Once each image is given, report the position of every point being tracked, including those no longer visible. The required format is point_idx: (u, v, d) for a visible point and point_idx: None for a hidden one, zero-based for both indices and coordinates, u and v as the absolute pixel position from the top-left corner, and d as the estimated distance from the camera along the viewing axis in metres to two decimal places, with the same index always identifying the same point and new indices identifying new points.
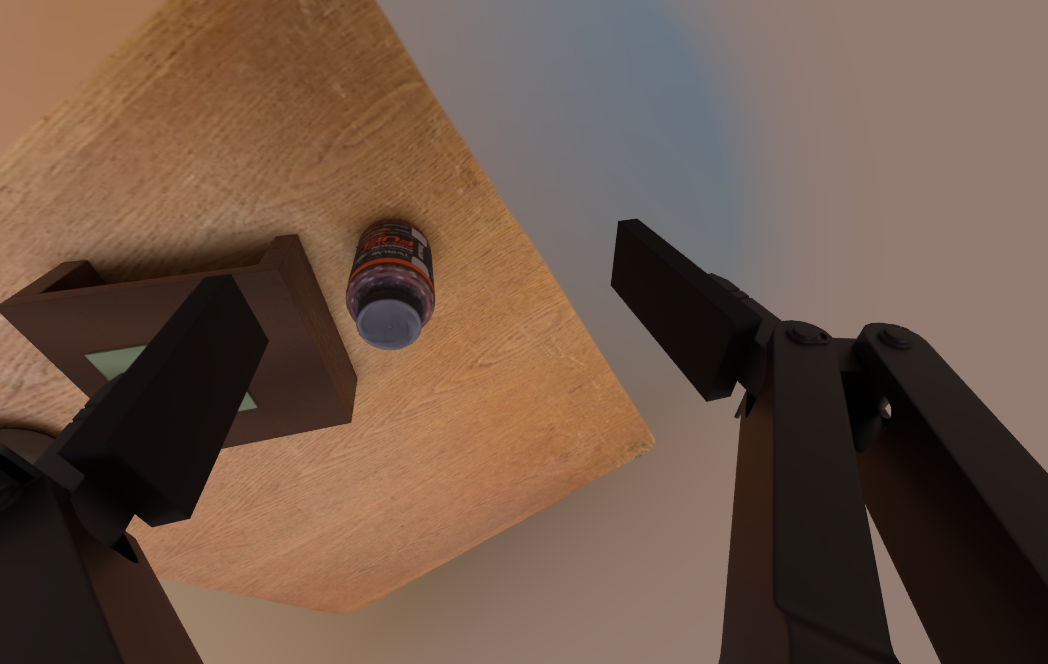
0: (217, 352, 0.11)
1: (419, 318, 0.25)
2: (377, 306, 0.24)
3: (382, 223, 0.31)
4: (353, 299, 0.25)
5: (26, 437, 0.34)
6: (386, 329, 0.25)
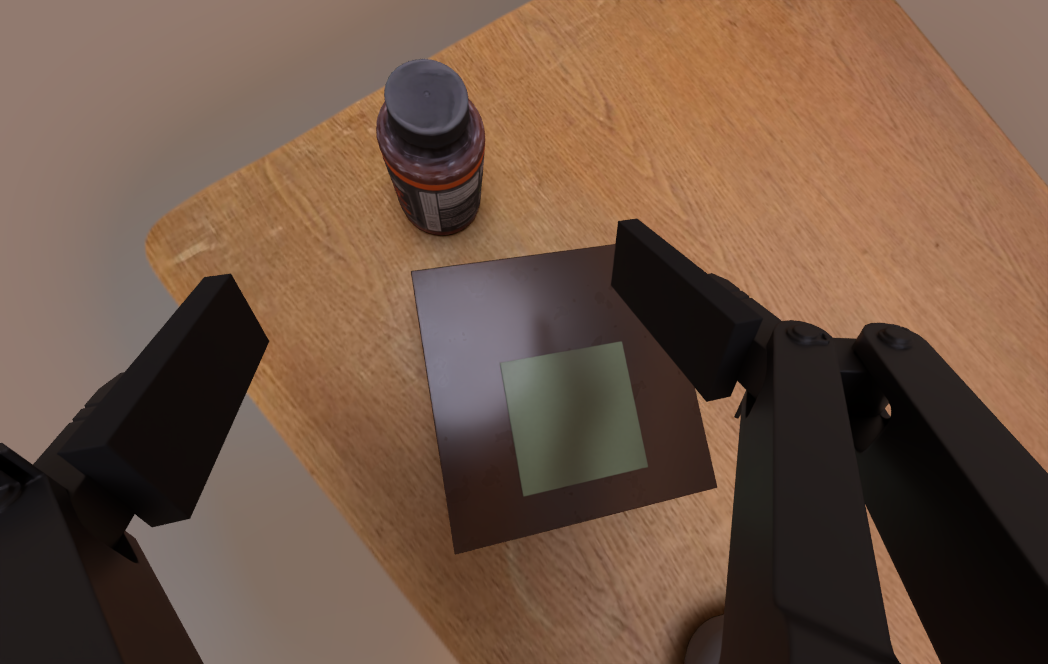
0: (217, 352, 0.11)
1: None
2: (392, 103, 0.18)
3: None
4: (416, 163, 0.20)
5: (694, 642, 0.27)
6: (431, 99, 0.19)
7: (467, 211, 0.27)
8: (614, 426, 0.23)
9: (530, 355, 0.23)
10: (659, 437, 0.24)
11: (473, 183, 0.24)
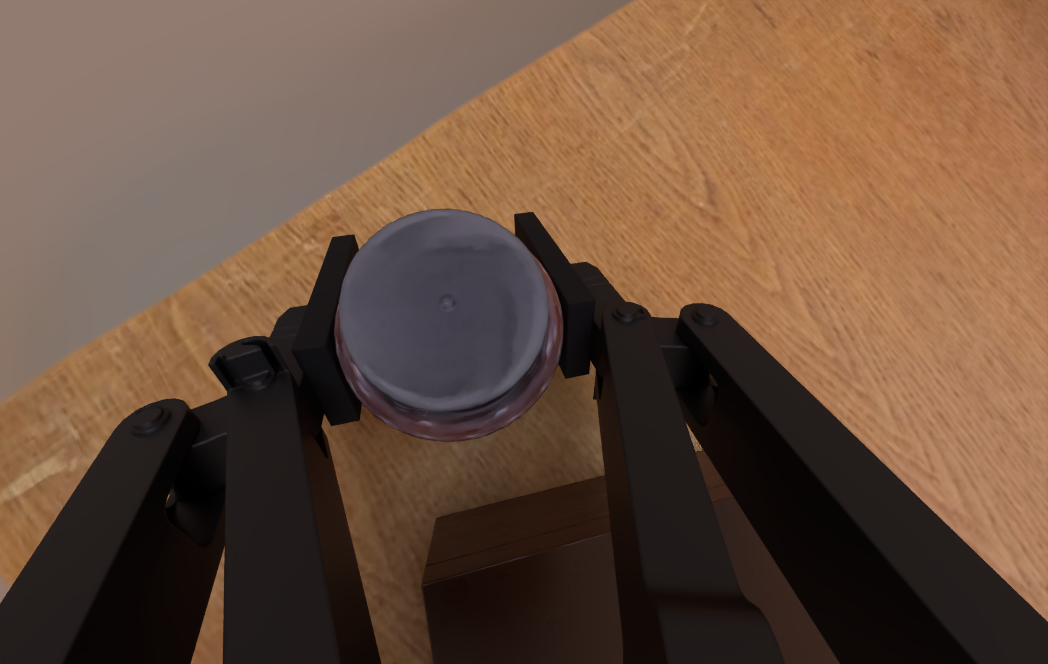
0: None
1: (418, 213, 0.08)
2: (359, 339, 0.07)
3: None
4: (423, 421, 0.09)
5: None
6: (458, 316, 0.07)
7: None
8: None
9: None
10: None
11: None
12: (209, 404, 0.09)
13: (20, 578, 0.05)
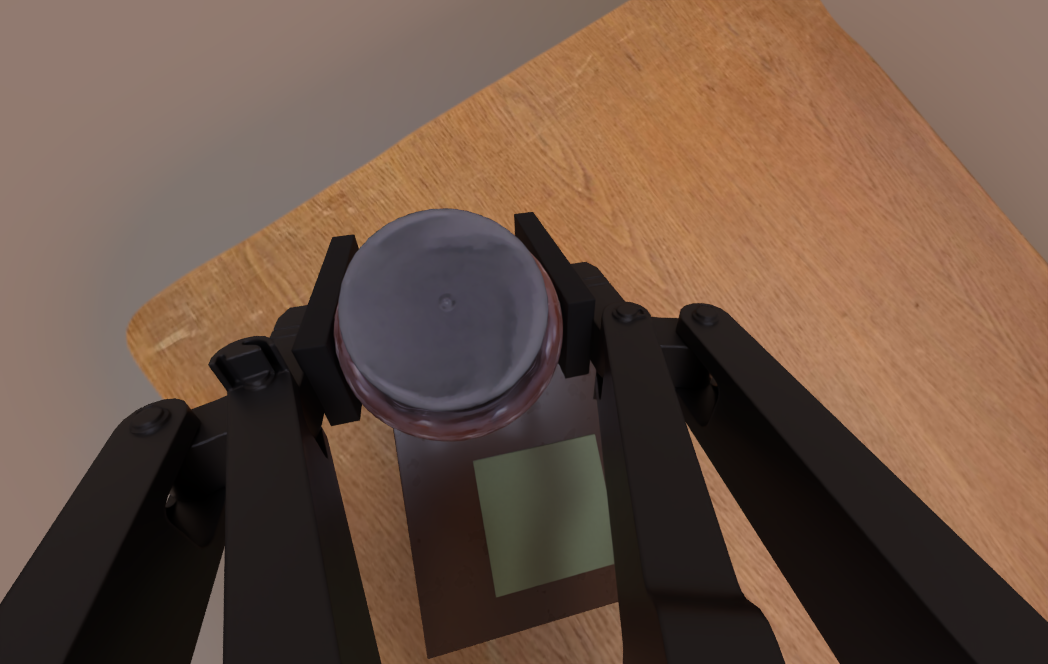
0: None
1: (418, 213, 0.08)
2: (359, 338, 0.07)
3: None
4: (423, 421, 0.09)
5: None
6: (457, 316, 0.07)
7: None
8: (587, 521, 0.23)
9: (503, 451, 0.23)
10: None
11: None
12: (209, 404, 0.09)
13: (20, 578, 0.05)
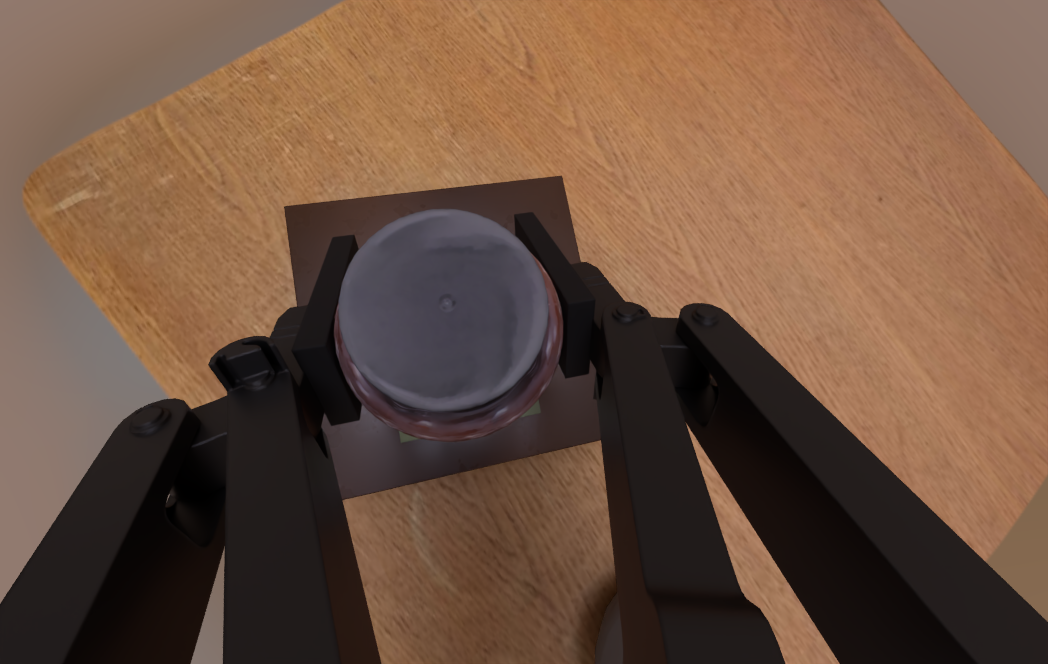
0: None
1: (418, 213, 0.08)
2: (360, 338, 0.07)
3: None
4: (423, 421, 0.09)
5: (608, 607, 0.25)
6: (458, 316, 0.07)
7: None
8: None
9: None
10: (555, 382, 0.22)
11: None
12: (209, 404, 0.09)
13: (20, 578, 0.05)
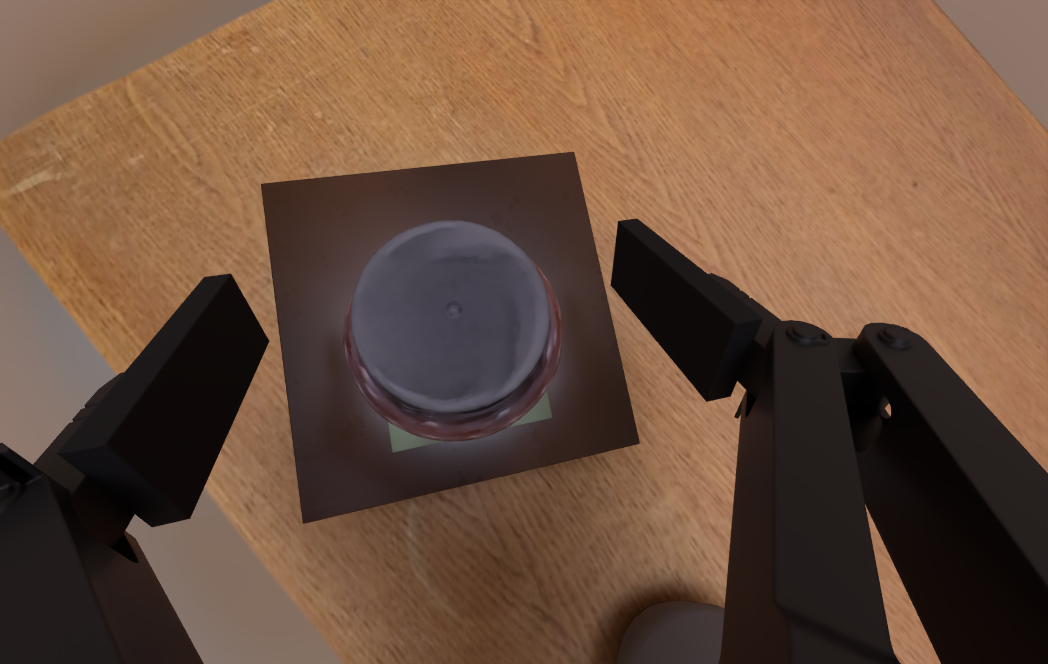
0: (217, 352, 0.11)
1: (426, 224, 0.08)
2: (371, 344, 0.07)
3: None
4: (429, 422, 0.09)
5: (626, 634, 0.22)
6: (464, 322, 0.08)
7: None
8: None
9: None
10: (568, 383, 0.20)
11: None
12: None
13: None
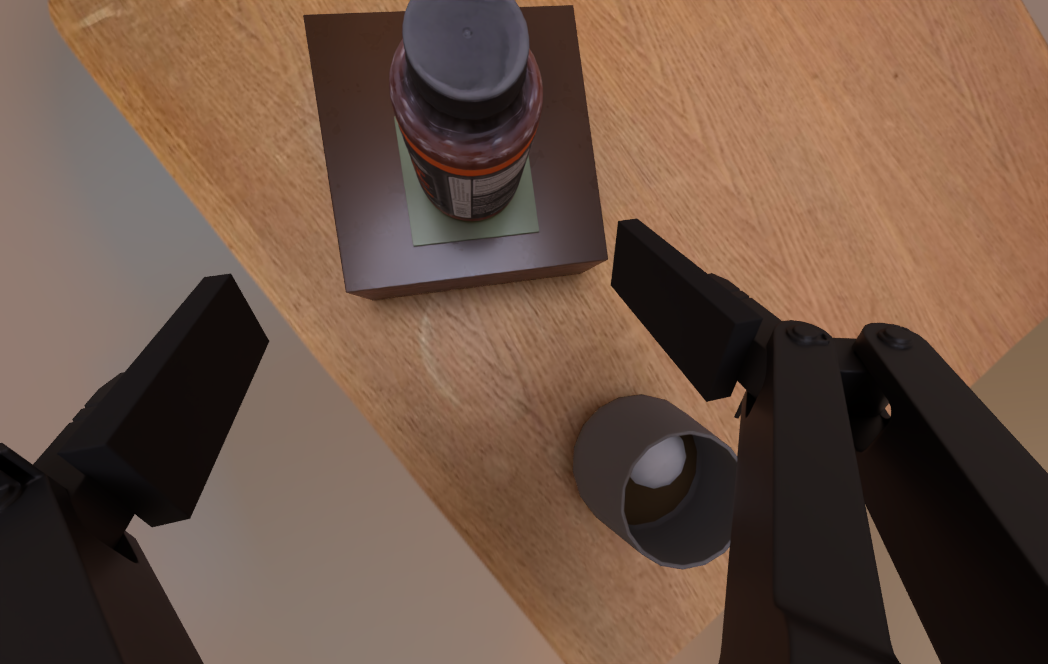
0: (217, 352, 0.11)
1: None
2: (415, 47, 0.12)
3: None
4: (448, 140, 0.14)
5: None
6: (473, 41, 0.12)
7: (506, 195, 0.20)
8: None
9: None
10: (554, 206, 0.24)
11: (521, 163, 0.17)
12: None
13: None
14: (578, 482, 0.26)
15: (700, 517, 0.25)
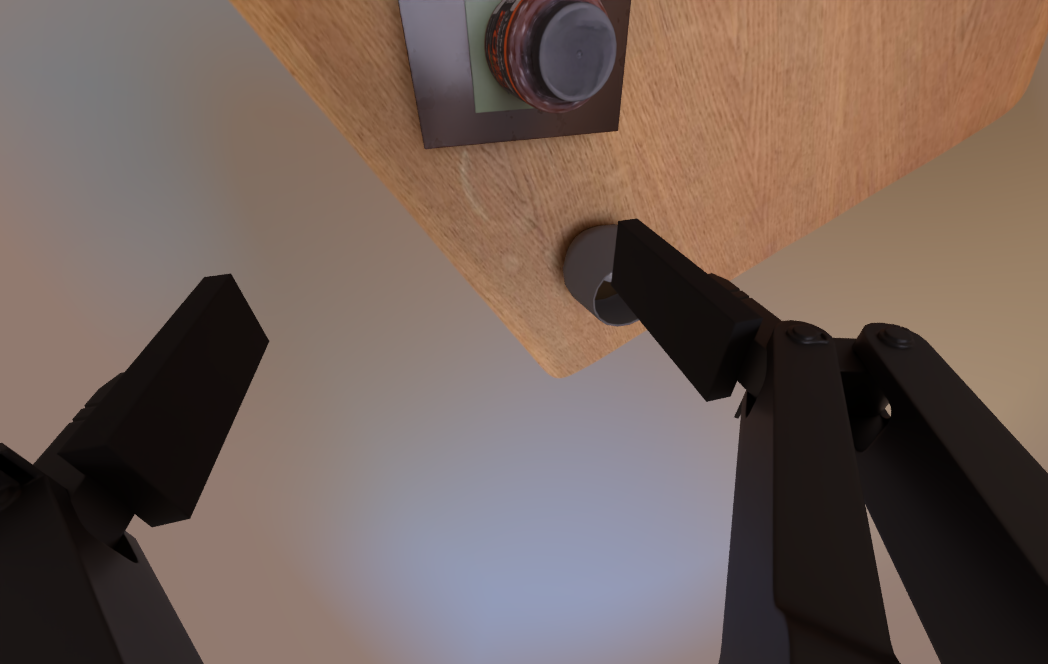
0: (217, 352, 0.11)
1: (575, 4, 0.18)
2: (546, 65, 0.19)
3: (486, 55, 0.26)
4: (545, 102, 0.22)
5: (576, 237, 0.43)
6: (582, 61, 0.19)
7: None
8: None
9: None
10: None
11: None
12: None
13: None
14: (566, 278, 0.42)
15: None
